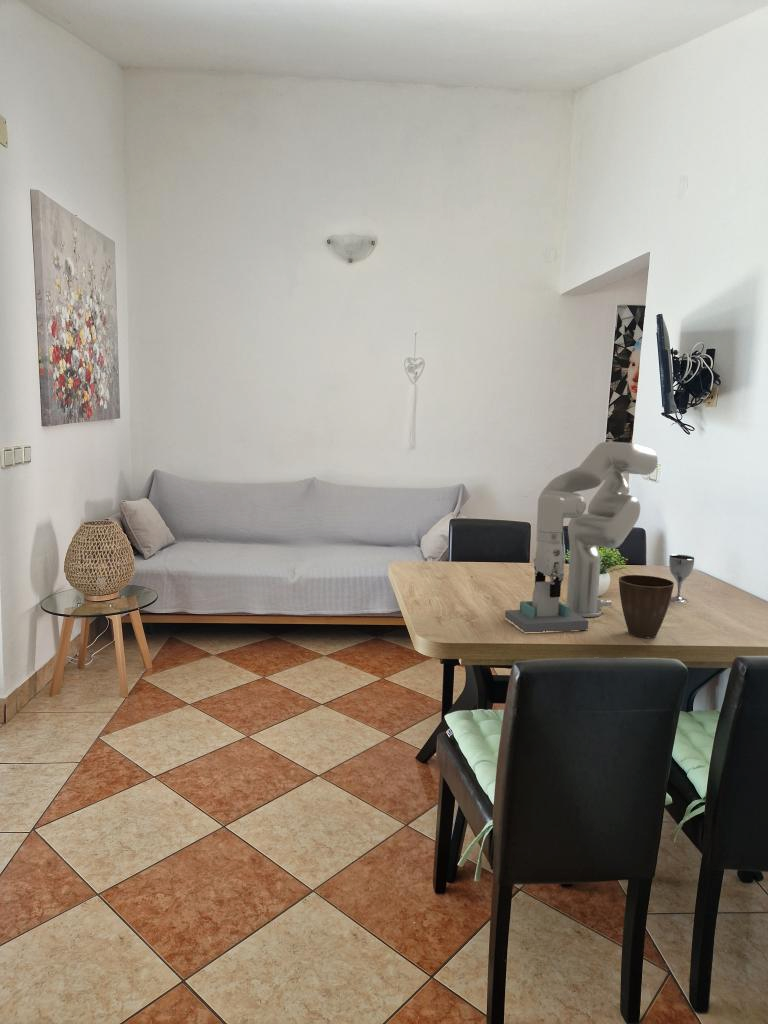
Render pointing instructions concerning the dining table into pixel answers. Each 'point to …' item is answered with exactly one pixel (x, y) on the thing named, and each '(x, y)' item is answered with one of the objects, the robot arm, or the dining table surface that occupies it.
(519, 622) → the dock
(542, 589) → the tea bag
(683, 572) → the wine glass
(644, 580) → the plant pot
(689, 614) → the dining table surface
